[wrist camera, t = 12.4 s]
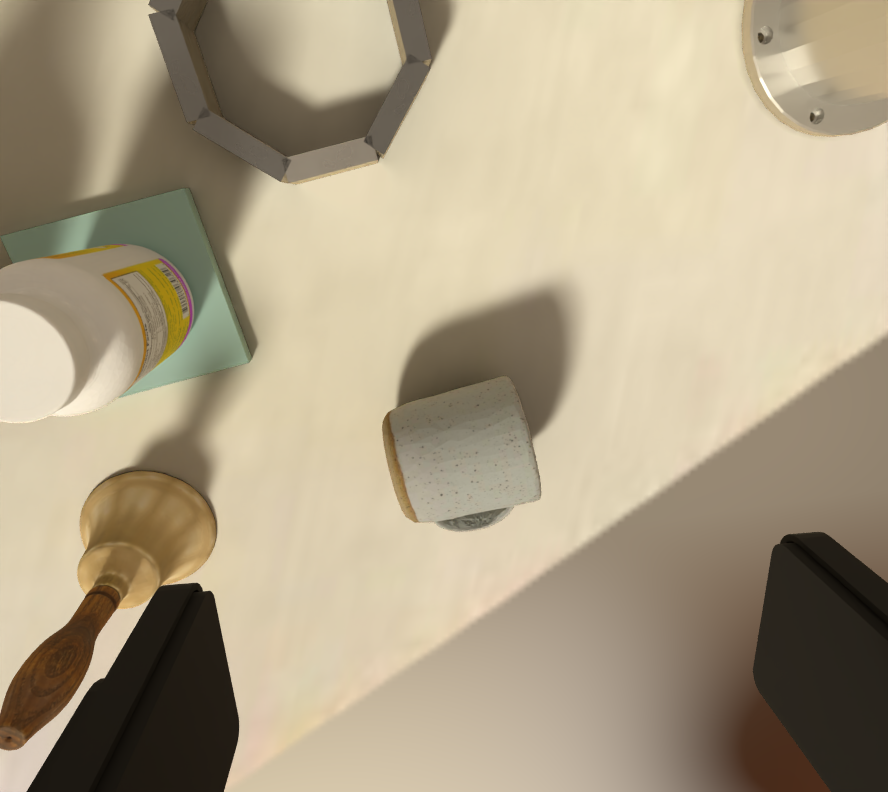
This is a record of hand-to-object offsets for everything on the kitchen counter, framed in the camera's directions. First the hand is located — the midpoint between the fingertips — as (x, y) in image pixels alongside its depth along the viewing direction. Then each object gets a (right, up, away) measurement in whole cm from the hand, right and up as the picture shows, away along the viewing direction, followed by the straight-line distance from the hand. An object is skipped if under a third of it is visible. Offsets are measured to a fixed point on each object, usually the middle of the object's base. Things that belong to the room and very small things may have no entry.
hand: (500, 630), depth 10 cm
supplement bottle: (-18, +9, +24) cm, 31 cm away
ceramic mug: (0, +1, +30) cm, 30 cm away
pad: (-19, +9, +25) cm, 32 cm away
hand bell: (-20, -5, +29) cm, 36 cm away
